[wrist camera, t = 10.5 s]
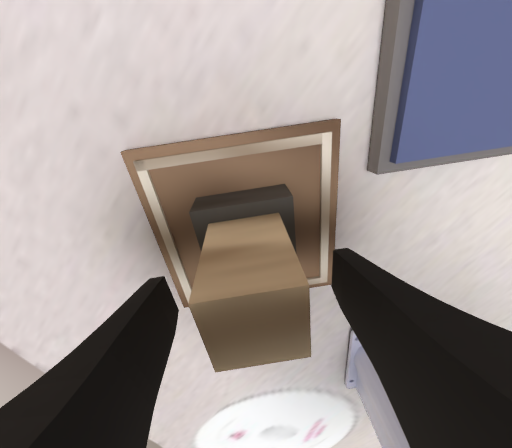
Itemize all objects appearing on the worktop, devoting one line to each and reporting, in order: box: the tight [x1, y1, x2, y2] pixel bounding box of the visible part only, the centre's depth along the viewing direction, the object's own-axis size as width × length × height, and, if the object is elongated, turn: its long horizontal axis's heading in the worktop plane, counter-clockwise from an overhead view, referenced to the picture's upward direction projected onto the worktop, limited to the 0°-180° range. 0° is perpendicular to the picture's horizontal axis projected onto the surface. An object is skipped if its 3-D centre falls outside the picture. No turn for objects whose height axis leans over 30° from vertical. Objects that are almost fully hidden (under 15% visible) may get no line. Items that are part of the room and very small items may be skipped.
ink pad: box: [367, 0, 512, 174], centre depth 10 cm, size 8×8×2 cm
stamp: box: [188, 184, 311, 372], centre depth 10 cm, size 5×5×7 cm
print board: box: [121, 119, 341, 308], centre depth 13 cm, size 11×11×1 cm
